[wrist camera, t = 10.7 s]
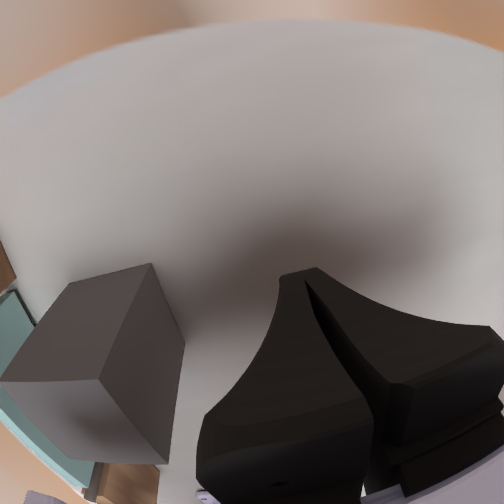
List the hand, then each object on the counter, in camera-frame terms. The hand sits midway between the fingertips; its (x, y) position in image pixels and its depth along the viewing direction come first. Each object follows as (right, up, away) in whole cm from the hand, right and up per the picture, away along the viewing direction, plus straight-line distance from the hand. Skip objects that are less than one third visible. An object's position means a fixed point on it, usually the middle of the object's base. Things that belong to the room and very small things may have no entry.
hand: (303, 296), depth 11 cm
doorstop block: (-7, -1, +2) cm, 7 cm away
